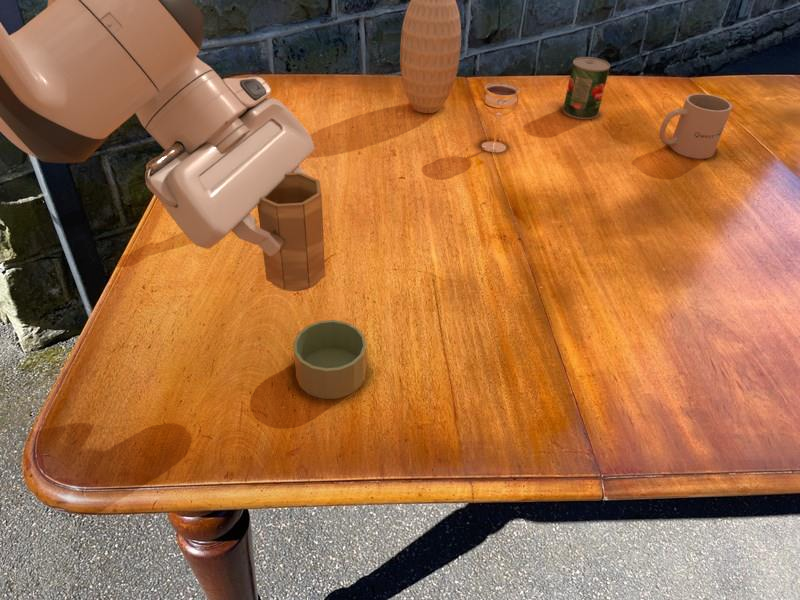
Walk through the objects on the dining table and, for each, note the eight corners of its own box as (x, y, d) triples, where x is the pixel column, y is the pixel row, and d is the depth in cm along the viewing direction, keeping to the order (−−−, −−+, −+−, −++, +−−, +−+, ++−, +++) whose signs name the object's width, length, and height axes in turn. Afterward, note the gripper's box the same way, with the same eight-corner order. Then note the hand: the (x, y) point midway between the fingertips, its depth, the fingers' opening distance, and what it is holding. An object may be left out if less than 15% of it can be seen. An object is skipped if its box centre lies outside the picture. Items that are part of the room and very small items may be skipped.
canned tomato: (601, 120, 140) (613, 71, 133) (565, 118, 140) (576, 68, 133) (594, 105, 147) (606, 57, 139) (560, 103, 147) (570, 55, 139)
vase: (428, 125, 135) (439, -19, 117) (386, 106, 141) (389, -33, 123) (466, 109, 142) (481, -29, 124) (424, 92, 149) (432, -42, 131)
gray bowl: (335, 410, 75) (334, 381, 71) (281, 377, 78) (278, 348, 75) (379, 368, 80) (380, 339, 77) (326, 339, 84) (325, 310, 80)
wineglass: (495, 157, 125) (504, 98, 117) (470, 145, 129) (477, 87, 121) (517, 148, 128) (527, 90, 121) (492, 136, 132) (500, 79, 124)
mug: (707, 141, 134) (725, 95, 128) (718, 160, 128) (737, 113, 121) (648, 136, 135) (663, 90, 129) (657, 155, 129) (672, 107, 122)
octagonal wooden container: (297, 300, 68) (290, 212, 60) (254, 277, 70) (242, 190, 63) (336, 271, 72) (333, 186, 64) (294, 250, 74) (287, 166, 67)
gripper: (150, 153, 53) (264, 273, 57) (270, 71, 68) (354, 171, 72) (119, 188, 57) (228, 298, 61) (239, 104, 72) (320, 197, 76)
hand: (297, 229), depth 67 cm, fingers closed on octagonal wooden container, 7 cm apart
